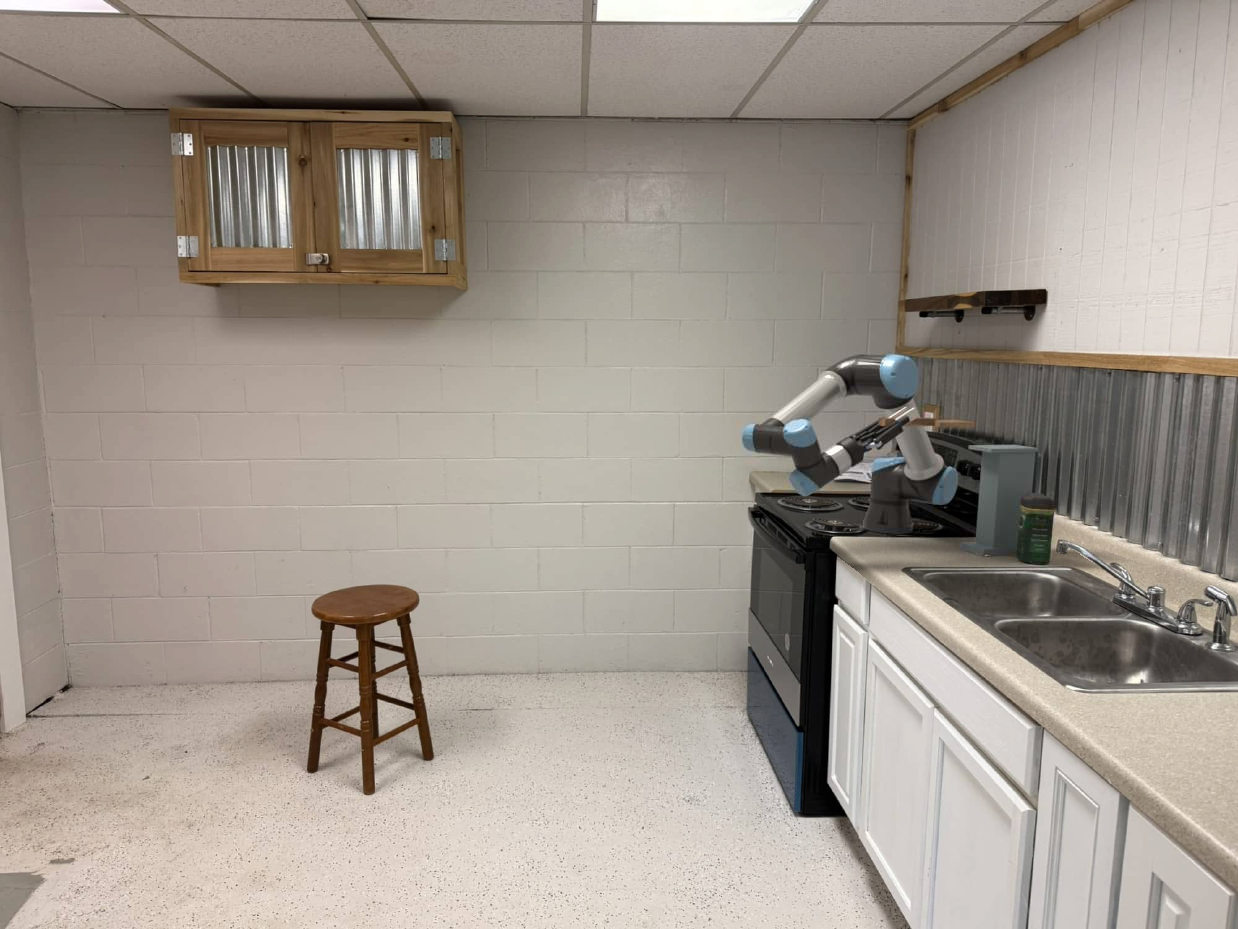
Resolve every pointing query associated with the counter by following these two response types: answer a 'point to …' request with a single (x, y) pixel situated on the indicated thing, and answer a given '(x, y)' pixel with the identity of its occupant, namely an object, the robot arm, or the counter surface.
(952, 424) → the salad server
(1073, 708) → the counter surface
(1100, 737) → the counter surface
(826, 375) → the robot arm
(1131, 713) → the counter surface
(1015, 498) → the stand
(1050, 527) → the coffee jar
